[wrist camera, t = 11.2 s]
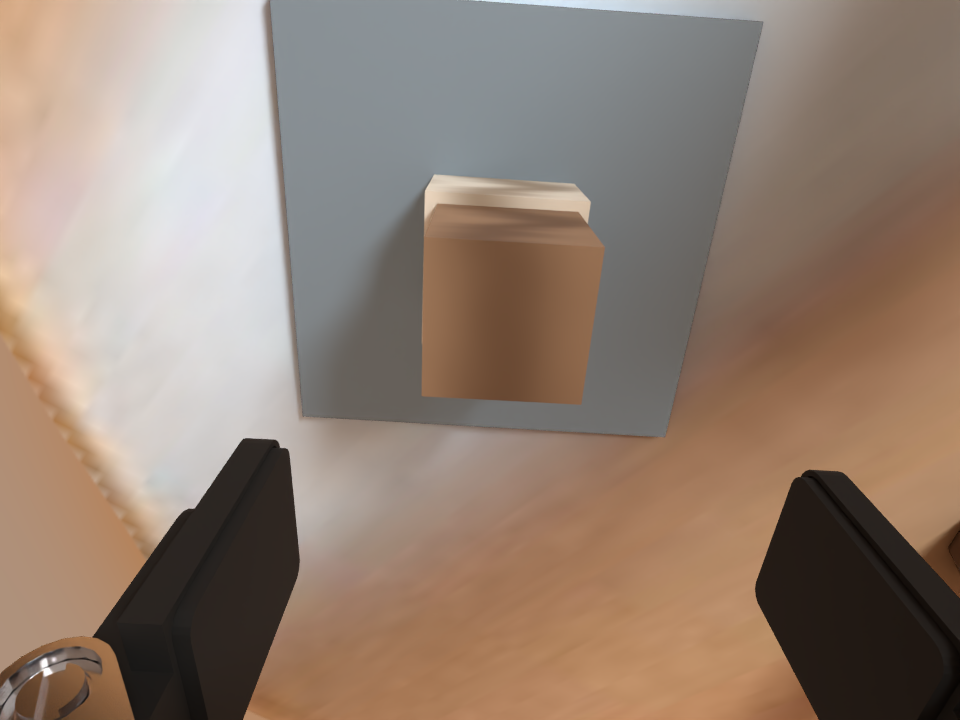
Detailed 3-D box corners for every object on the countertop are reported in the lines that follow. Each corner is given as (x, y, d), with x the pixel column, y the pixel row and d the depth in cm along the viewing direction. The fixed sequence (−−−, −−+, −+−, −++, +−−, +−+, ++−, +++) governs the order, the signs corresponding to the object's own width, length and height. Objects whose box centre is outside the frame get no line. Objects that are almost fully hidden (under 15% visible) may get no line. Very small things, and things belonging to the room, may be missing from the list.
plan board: (755, 23, 27) (763, 21, 26) (661, 430, 36) (664, 437, 35) (274, -12, 26) (268, -15, 25) (306, 409, 36) (302, 416, 35)
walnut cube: (578, 211, 25) (604, 247, 19) (562, 341, 27) (581, 405, 22) (437, 203, 24) (423, 237, 19) (434, 334, 27) (421, 396, 22)
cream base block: (574, 183, 29) (590, 201, 24) (557, 314, 32) (569, 352, 27) (434, 174, 29) (424, 190, 24) (430, 306, 32) (421, 343, 27)
